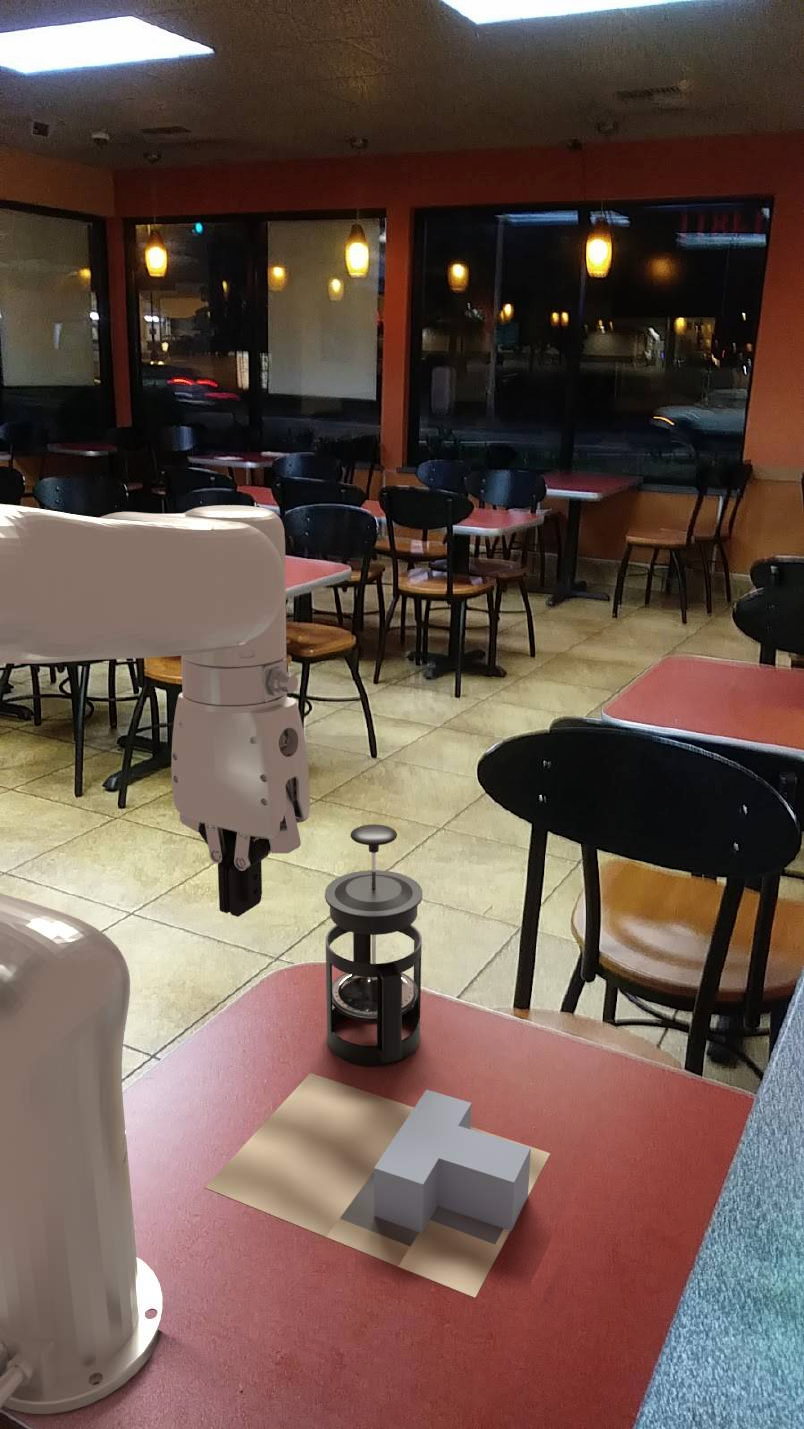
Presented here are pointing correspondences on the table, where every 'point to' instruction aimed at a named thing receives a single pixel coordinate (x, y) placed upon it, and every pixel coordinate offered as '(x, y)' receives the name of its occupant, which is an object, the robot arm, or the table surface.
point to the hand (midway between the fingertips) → (240, 906)
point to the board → (355, 1183)
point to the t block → (449, 1169)
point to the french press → (374, 957)
